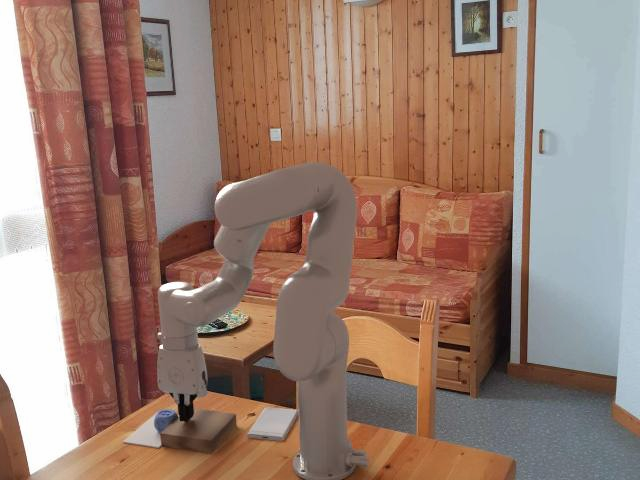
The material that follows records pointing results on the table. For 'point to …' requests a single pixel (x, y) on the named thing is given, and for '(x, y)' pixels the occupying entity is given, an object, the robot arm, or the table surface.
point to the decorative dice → (164, 419)
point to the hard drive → (273, 424)
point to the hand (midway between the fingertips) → (186, 418)
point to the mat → (145, 435)
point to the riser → (199, 431)
